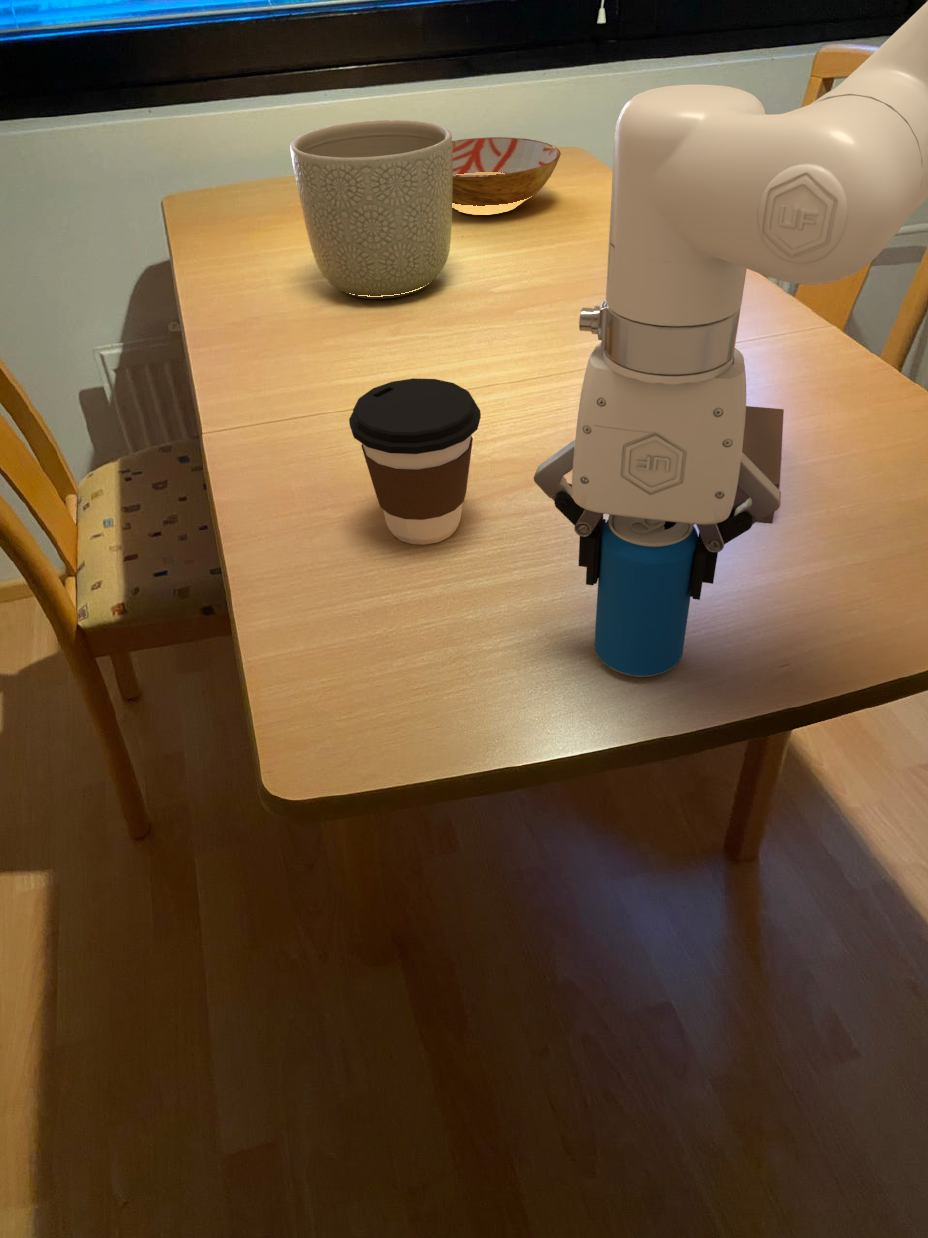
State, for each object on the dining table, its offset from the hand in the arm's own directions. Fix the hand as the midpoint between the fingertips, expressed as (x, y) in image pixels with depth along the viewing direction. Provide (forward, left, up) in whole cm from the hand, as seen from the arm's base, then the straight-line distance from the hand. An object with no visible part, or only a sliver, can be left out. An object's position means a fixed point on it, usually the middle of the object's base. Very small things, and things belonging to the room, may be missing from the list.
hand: (645, 578), depth 65 cm
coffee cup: (+21, -13, -7) cm, 26 cm away
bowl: (+41, -109, -7) cm, 116 cm away
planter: (+45, -70, -7) cm, 84 cm away
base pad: (-2, -27, -7) cm, 28 cm away
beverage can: (0, 0, -7) cm, 7 cm away
